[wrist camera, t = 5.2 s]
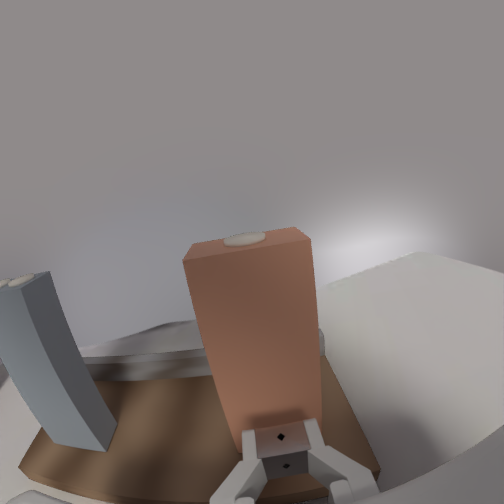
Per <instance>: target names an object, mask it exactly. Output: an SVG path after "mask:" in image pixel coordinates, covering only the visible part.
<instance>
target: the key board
mask: <svg viewBox="0 0 504 504" xmlns="http://www.w3.org/2000/svg"><path fill="white" fill-rule="evenodd" d="M319 345H320V366H321V394H322V438H323V441H324V444H325V446H328V445H329V446H331V447H332V448H334V449H335V450H337V451H339V452H340V453H342V454H344V455H345V456H347V457H348V458H350V459H352V460H354V461H355V462H357V463H359V464H360V465H362V466H364V467H366V468H367V469H369V470H371V473H372V475H373V477H374V480H375V481H377V479H378V476H379V473H380V470H381V468H380V466H379V464H378V462H377V460H376V458H375V456H374V454H373V451H372V449H371V447H370V445H369V443H368V441H367V439H366V437H365V435H364V433H363V431H362V429H361V427H360V425H359V423H358V421H357V419H356V416H355V414H354V412H353V410H352V408H351V406H350V404H349V402H348V400H347V398H346V396H345V394H344V392H343V390H342V388H341V386H340V384H339V382H338V380H337V378H336V376H335V374H334V372H333V370H332V368H331V366H330V364H329V362H328V360H327V358H326V356H325V346H324V335H323V333H322V331H321V329H319ZM82 359H83V361H84V363H85V365H86V367H87V369H88V371H89V373H90V375H91V377H92V379H93V381H94V383H95V385H96V387H97V389H98V391H99V393H100V394H101V396H102V398H103V400H104V402H105V403H106V405H107V407H108V409H109V410H110V412H111V414H112V415H113V417H114V419H115V420H116V422H117V426H116V429H115V431H114V434H113V436H112V439H111V441H110V444H109V447H108V449H107V452H102V451H94V450H88V449H82V448H76V447H71V446H66V445H61V444H56V443H54V442H53V441H52V439H51V438H50V437H49V435H48V434H47V433H46V431H45V430H44V429H43V427H41V429H40V431H39V432H38V434H37V435H36V437H35V439H34V440H33V442H32V444H31V445H30V447H29V449H28V451H27V452H26V454H25V456H24V457H23V459H22V461H21V463H20V465H19V466H18V468H19V469H20V470H21V471H22V472H23V473H24V474H25V475H26V476H27V477H28V478H29V479H31V480H34V481H36V482H39V483H42V484H44V485H47V486H50V487H53V488H56V489H59V490H62V491H66V492H69V493H73V494H76V495H80V496H84V497H88V498H92V499H96V500H100V501H105V502H110V503H115V504H210V498H211V496H212V495H213V494H214V493H215V492H216V490H217V489H218V488H219V487H220V485H221V484H222V483H223V482H224V480H225V479H226V478H227V477H228V475H229V474H230V473H231V472H232V470H233V469H234V468H235V466H236V465H237V464H238V462H239V461H243V453H238V451H237V448H236V445H235V442H234V440H233V437H232V434H231V431H230V428H229V425H228V422H227V419H226V416H225V413H224V410H223V407H222V404H221V401H220V398H219V395H218V392H217V389H216V385H215V382H214V379H213V376H212V372H211V369H210V366H209V362H208V359H207V355H206V352H205V348H203V349H195V350H186V351H177V352H167V353H156V354H143V355H128V356H110V357H82ZM325 496H329V490H328V489H327V488H326V487H325V486H323V485H322V484H321V483H320V482H318V481H317V480H316V479H315V478H314V477H312V476H311V475H310V474H309V473H304V474H298V475H292V476H286V477H281V478H276V479H270V480H267V483H266V485H265V486H264V488H263V490H262V492H261V493H260V495H259V497H258V499H257V500H256V502H255V503H256V504H292V503H298V502H303V501H308V500H312V499H317V498H321V497H325Z"/></svg>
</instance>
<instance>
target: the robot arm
mask: <svg viewBox="0 0 504 504" xmlns="http://www.w3.org/2000/svg"><path fill="white" fill-rule="evenodd" d="M242 452H243V461H239V462H238V464H237V465H236V466H235V468H234V469H233V470H232V472H231V473H230V474H229V475H228V477H227V478H226V479H225V480H224V482H223V483H222V484H221V485H220V487H219V488H218V489H217V490H216V492H215V493H214V494H213V495H212V496H211V498H210V504H256V503H255V502H256V500H257V499H258V497H259V495H260V493H261V492H262V490H263V488H264V486H265V485H266V483H267V480H270V479H276V478H281V477H286V476H292V475H298V474H304V473H309V474H310V475H311V476H312V477H314V478H315V479H316V480H317V481H318V482H320V483H321V484H322V485H323V486H325V487H326V488H327V489H328V490H329V497H328V504H504V425H503V426H501V427H500V428H499V429H497V430H496V431H495V432H493V433H492V434H491V435H489V436H488V437H486V438H485V439H484V440H482V441H481V442H479V443H478V444H476V445H475V446H473V447H472V448H470V449H468V450H467V451H465V452H464V453H462V454H460V455H459V456H457V457H455V458H454V459H452V460H450V461H448V462H447V463H445V464H443V465H441V466H439V467H437V468H435V469H434V470H432V471H430V472H428V473H426V474H424V475H422V476H419V477H417V478H415V479H413V480H411V481H409V482H406V483H404V484H402V485H399V486H397V487H395V488H392V489H390V490H387V491H384V492H382V493H380V491H379V489H378V486H377V484H376V482H375V480H374V477H373V475H372V473H371V470H369V469H367V468H366V467H364V466H362V465H360V464H359V463H357V462H355V461H354V460H352V459H350V458H348V457H347V456H345V455H344V454H342V453H340V452H339V451H337V450H335V449H334V448H332V447H331V446H329V445H328V446H325V444H324V441H323V438H322V435H321V432H320V429H319V426H318V423H317V420H316V419H315V418H312V419H308V420H303V421H298V422H293V423H288V424H283V425H279V426H273V427H266V428H258V429H251V430H242ZM6 504H72V503H69V502H66V501H62V500H60V499H57V498H54V497H51V496H48V495H46V494H43V493H41V492H38V491H35V490H29V491H26V492H24V493H22V494H20V495H18V496H16V497H14V498H12V499H11V500H9V501H8V502H7V503H6Z"/></svg>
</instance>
